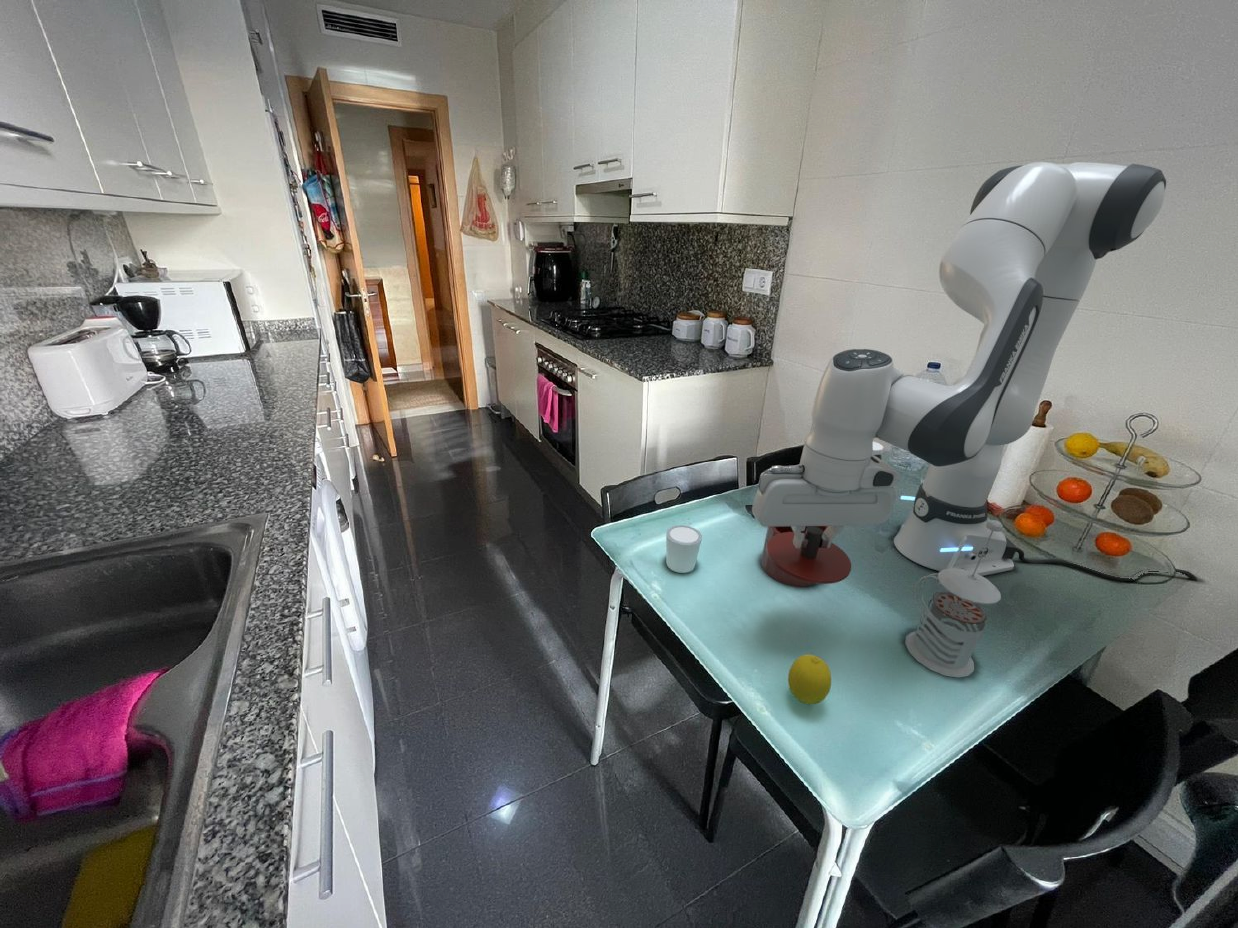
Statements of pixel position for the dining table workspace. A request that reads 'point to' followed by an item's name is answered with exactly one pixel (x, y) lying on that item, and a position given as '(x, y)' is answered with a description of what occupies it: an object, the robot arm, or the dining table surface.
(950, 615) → the french press
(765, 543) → the tin
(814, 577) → the tin lid
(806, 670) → the lemon
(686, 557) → the white cup
